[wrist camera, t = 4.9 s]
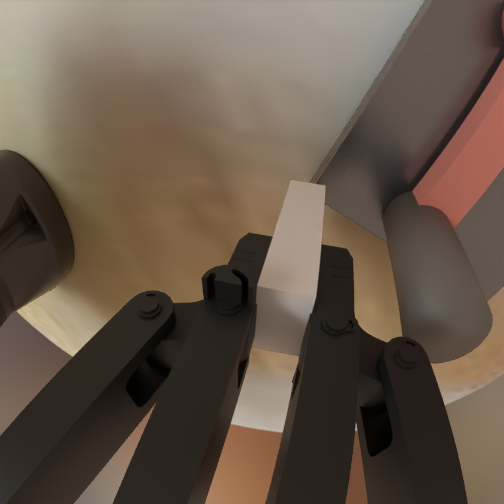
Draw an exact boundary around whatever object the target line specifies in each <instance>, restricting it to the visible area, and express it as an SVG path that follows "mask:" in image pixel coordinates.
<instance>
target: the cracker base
mask: <svg viewBox="0 0 504 504" xmlns="http://www.w3.org/2000/svg"><path fill="white" fill-rule="evenodd" d="M503 10H504V0H425V1H424V3H423V5H422V6H421V8H420V9H419V11H418V13H417V14H416V16H415V18H414V19H413V21H412V22H411V24H410V26H409V27H408V29H407V30H406V32H405V34H404V35H403V37H402V39H401V40H400V42H399V43H398V45H397V47H396V48H395V50H394V51H393V53H392V55H391V56H390V58H389V59H388V61H387V63H386V64H385V66H384V67H383V69H382V70H381V72H380V74H379V75H378V77H377V78H376V80H375V82H374V83H373V85H372V86H371V88H370V90H369V91H368V93H367V94H366V96H365V97H364V99H363V101H362V102H361V104H360V105H359V107H358V108H357V110H356V112H355V113H354V115H353V116H352V118H351V119H350V121H349V123H348V124H347V126H346V127H345V129H344V130H343V132H342V133H341V135H340V137H339V138H338V140H337V141H336V143H335V144H334V146H333V148H332V149H331V151H330V152H329V154H328V155H327V157H326V158H325V160H324V162H323V163H322V165H321V166H320V168H319V169H318V171H317V172H316V174H315V175H314V177H313V179H312V180H311V182H310V183H313V184H319V185H325V186H326V187H325V205H327V206H329V207H330V208H332V209H334V210H335V211H337V212H339V213H340V214H342V215H344V216H345V217H347V218H349V219H350V220H352V221H354V222H355V223H357V224H359V225H360V226H362V227H363V228H365V229H367V230H368V231H370V232H371V233H373V234H375V235H376V236H378V237H379V238H381V239H382V240H384V241H386V242H387V239H386V235H385V230H384V225H383V219H384V214H385V211H386V209H387V207H388V206H389V204H390V203H391V202H392V201H393V200H394V199H395V198H396V197H398V196H399V195H401V194H403V193H406V192H410V191H413V190H414V188H415V187H416V186H417V184H418V183H419V182H420V181H421V179H422V178H423V177H424V175H425V174H426V173H427V172H428V170H429V169H430V168H431V166H432V165H433V164H434V162H435V161H436V160H437V158H438V157H439V156H440V154H441V153H442V151H443V150H444V149H445V147H446V146H447V145H448V143H449V142H450V140H451V139H452V138H453V136H454V135H455V133H456V132H457V131H458V129H459V128H460V126H461V125H462V123H463V122H464V120H465V119H466V117H467V116H468V114H469V113H470V112H471V110H472V109H473V107H474V105H475V104H476V102H477V101H478V99H479V98H480V96H481V95H482V93H483V92H484V90H485V88H486V87H487V85H488V84H489V82H490V80H491V79H492V77H493V75H494V74H495V72H496V70H497V69H498V67H499V65H500V64H501V62H502V60H503V58H504V37H503V32H502V13H503ZM454 230H455V232H456V234H457V236H458V238H459V240H460V242H461V244H462V246H463V248H464V250H465V252H466V254H467V256H468V258H469V261H470V263H471V265H472V267H473V269H474V271H475V274H476V276H477V278H478V281H479V283H480V285H481V288H482V290H483V293H484V295H485V298H486V300H487V301H488V300H489V299H490V298H491V297H492V296H493V295H495V294H496V293H497V292H498V291H499V290H500V289H501V288H502V287H503V286H504V167H503V169H502V170H501V171H500V173H499V174H498V175H497V177H496V178H495V179H494V181H493V182H492V183H491V184H490V186H489V187H488V188H487V190H486V191H485V192H484V193H483V195H482V196H481V197H480V198H479V199H478V201H477V202H476V203H475V204H474V205H473V207H472V208H471V209H470V210H469V211H468V213H467V214H466V215H465V216H464V217H463V218H462V220H461V221H460V222H459V223H458V224H457V225H456V226H455V227H454Z"/></svg>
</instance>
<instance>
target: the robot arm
mask: <svg viewBox="0 0 504 504" xmlns="http://www.w3.org/2000/svg"><path fill="white" fill-rule="evenodd" d="M325 187H326V186H325V185H319V184H313V183H307V182H301V181H295V180H291V181H290V184H289V187H288V191H287V194H286V197H285V200H284V203H283V206H282V210H281V213H280V216H279V219H278V222H277V225H276V229H275V232H274V235H273V237H271V236H265V235H259V234H253V233H248V234H247V235H245V236H244V237H243V238H241V239H240V240H239V242H238V244H237V246H236V248H235V251H234V253H233V255H232V257H231V259H230V261H229V263H228V265H222V266H217V267H214V268H212V269H210V270H208V271H207V272H206V273H205V274H204V275H203V276H202V285H203V295H204V300H201V301H198V302H191V303H173V302H172V300H171V298H170V297H169V296H168V295H166V294H165V293H163V292H159V291H146V292H143V293H140V294H138V295H137V296H135V297H134V298H132V299H131V300H130V301H129V302H128V303H127V304H126V305H125V306H124V307H123V308H122V309H121V310H120V311H119V312H118V313H117V314H116V315H115V316H114V317H113V318H112V319H111V320H109V321H108V322H107V323H106V324H105V325H104V326H103V327H102V328H101V329H100V330H99V331H98V332H97V333H96V334H95V335H94V336H93V337H92V338H91V339H90V340H89V341H88V342H87V343H86V344H85V345H84V346H83V347H82V348H81V349H80V350H79V351H78V352H77V353H76V354H75V355H74V356H73V358H72V359H71V360H70V361H69V362H68V363H67V364H66V365H65V366H64V367H63V368H62V369H61V370H60V371H59V372H58V373H57V374H56V375H55V376H54V377H53V378H52V380H50V382H49V383H48V384H47V385H46V386H45V387H44V388H43V389H42V390H41V391H40V392H39V393H38V394H37V396H36V397H35V398H34V399H33V400H32V401H31V402H30V403H29V404H28V405H27V406H26V408H25V409H24V410H23V411H22V412H21V413H20V414H19V415H18V416H17V418H16V419H15V420H14V421H13V422H12V423H11V424H10V426H9V427H8V428H7V429H6V430H5V431H4V432H3V434H2V435H1V436H0V504H74V502H75V501H76V500H77V499H78V498H79V497H80V495H81V494H82V493H83V492H84V491H85V489H86V488H87V487H88V486H89V485H90V483H91V482H92V481H93V480H94V478H95V477H96V476H97V475H98V474H99V472H100V471H101V470H102V469H103V467H104V466H105V465H106V464H107V463H108V461H109V460H110V459H111V458H112V457H113V455H114V454H115V453H116V452H117V450H118V449H119V448H120V447H121V445H122V444H123V443H124V442H125V440H126V439H127V438H128V437H129V436H130V434H131V433H132V432H133V431H134V429H135V428H136V427H137V426H138V424H139V423H140V422H141V421H142V419H143V418H144V417H145V416H146V414H147V413H148V412H149V411H150V409H151V408H152V407H153V406H154V404H155V403H156V405H155V407H154V409H153V411H152V414H151V416H150V418H149V420H148V423H147V425H146V427H145V429H144V432H143V434H142V436H141V439H140V441H139V443H138V445H137V448H136V450H135V453H134V455H133V457H132V459H131V462H130V464H129V466H128V469H127V471H126V473H125V476H124V478H123V480H122V483H121V486H120V487H119V490H118V492H117V495H116V497H115V499H114V502H113V504H204V503H205V501H206V498H207V495H208V492H209V489H210V486H211V483H212V480H213V477H214V474H215V471H216V468H217V465H218V461H219V458H220V455H221V452H222V449H223V446H224V443H225V439H226V436H227V433H228V430H229V427H230V423H231V420H232V417H233V414H234V410H235V407H236V404H237V401H238V397H239V394H240V391H241V387H242V384H243V381H244V377H245V374H246V371H247V367H248V364H249V354H250V350H251V347H252V344H253V347H255V348H260V349H264V350H269V351H274V352H279V353H285V354H290V355H296V356H299V361H298V365H297V368H296V371H295V374H294V377H293V380H292V383H293V387H292V392H291V397H290V402H289V407H288V411H287V416H286V421H285V425H284V430H283V434H282V439H281V443H280V448H279V452H278V456H277V460H276V464H275V469H274V472H273V476H272V480H271V484H270V488H269V492H268V496H267V499H266V503H265V504H345V502H346V496H347V490H348V484H349V477H350V469H351V462H352V454H353V445H354V435H355V425H356V424H357V430H358V436H359V442H360V448H361V455H362V462H363V468H364V476H365V484H366V492H367V499H368V504H468V503H467V497H466V491H465V485H464V480H463V476H462V471H461V466H460V461H459V457H458V453H457V448H456V445H455V441H454V437H453V433H452V430H451V426H450V422H449V419H448V415H447V412H446V409H445V405H444V402H443V399H442V396H441V393H440V390H439V387H438V384H437V381H436V378H435V375H434V372H433V369H432V366H431V364H430V361H429V358H428V355H427V353H426V352H425V350H424V348H423V347H422V346H421V345H420V344H419V343H418V342H417V341H415V340H413V339H411V338H409V337H396V338H393V339H391V340H390V341H389V342H388V343H386V342H384V341H382V340H380V339H377V338H375V337H373V336H371V335H369V334H368V333H366V332H365V331H364V330H363V329H362V328H361V327H360V326H359V324H358V321H357V320H356V318H355V314H354V280H353V279H354V272H353V258H352V256H351V255H350V253H349V251H348V250H347V249H345V248H339V247H334V246H328V245H322V244H321V243H322V231H323V218H324V204H325ZM73 261H74V249H73V243H72V238H71V234H70V231H69V228H68V225H67V222H66V219H65V217H64V215H63V212H62V210H61V208H60V206H59V204H58V202H57V200H56V199H55V197H54V195H53V193H52V192H51V190H50V189H49V187H48V185H47V184H46V183H45V181H44V180H43V178H42V177H41V176H40V175H39V173H38V172H37V171H36V170H35V169H34V168H33V167H32V166H31V165H30V164H29V163H28V162H27V161H26V160H25V159H23V158H22V157H21V156H19V155H17V154H15V153H13V152H11V151H6V150H2V151H0V327H1V326H2V325H3V323H4V322H5V321H6V320H7V318H8V317H9V316H10V315H11V314H12V313H13V312H15V311H17V310H18V309H20V308H22V307H23V306H25V305H27V304H28V303H30V302H32V301H33V300H35V299H37V298H38V297H40V296H42V295H43V294H45V293H47V292H48V291H51V290H52V289H54V288H55V287H56V286H58V284H59V283H60V282H61V281H62V280H63V279H64V278H65V276H66V275H67V274H68V273H69V272H70V270H71V268H72V266H73Z"/></svg>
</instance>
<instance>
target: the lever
mask: <svg viewBox="0 0 504 504" xmlns="http://www.w3.org/2000/svg"><path fill="white" fill-rule="evenodd" d="M502 32H503V37H504V10H503V13H502ZM503 167H504V58H503V60H502V62H501V64H500V65H499V67H498V69H497V70H496V72H495V74H494V75H493V77H492V79H491V80H490V82H489V84H488V85H487V87H486V88H485V90H484V92H483V93H482V95H481V96H480V98H479V99H478V101H477V102H476V104H475V105H474V107H473V109H472V110H471V112H470V113H469V114H468V116H467V117H466V119H465V120H464V122H463V123H462V125H461V126H460V128H459V129H458V131H457V132H456V133H455V135H454V136H453V138H452V139H451V140H450V142H449V143H448V145H447V146H446V147H445V149H444V150H443V151H442V153H441V154H440V156H439V157H438V158H437V160H436V161H435V162H434V164H433V165H432V166H431V168H430V169H429V170H428V172H427V173H426V174H425V175H424V177H423V178H422V179H421V181H420V182H419V183H418V184H417V186H416V187H415V188H414V190H413V191H410V192H406V193H403V194H401V195H399V196H398V197H396V198H395V199H394V200H393V201H392V202H391V203H390V204H389V206H388V207H387V209H386V211H385V214H384V219H383V225H384V230H385V235H386V239H387V244H388V248H389V253H390V258H391V263H392V269H393V274H394V280H395V286H396V292H397V298H398V305H399V312H400V319H401V327H402V336H403V337H409V338H411V339H413V340H415V341H417V342H418V343H419V344H420V345H421V346H422V347H423V348H424V350H425V352H426V353H427V355H428V358H429V361H430V363H443V362H448V361H451V360H455V359H457V358H460V357H462V356H464V355H466V354H468V353H469V352H471V351H472V350H474V349H475V348H476V347H478V346H479V345H480V344H481V343H482V342H483V340H484V339H485V338H486V337H487V335H488V333H489V332H490V329H491V327H492V321H493V318H492V314H491V311H490V308H489V306H488V303H487V300H486V298H485V295H484V293H483V290H482V288H481V285H480V283H479V281H478V278H477V276H476V274H475V271H474V269H473V267H472V265H471V263H470V261H469V258H468V256H467V254H466V252H465V250H464V248H463V246H462V244H461V242H460V240H459V238H458V236H457V234H456V232H455V230H454V227H455V226H456V225H457V224H458V223H459V222H460V221H461V220H462V218H463V217H464V216H465V215H466V214H467V213H468V211H469V210H470V209H471V208H472V207H473V205H474V204H475V203H476V202H477V201H478V199H479V198H480V197H481V196H482V195H483V193H484V192H485V191H486V190H487V188H488V187H489V186H490V184H491V183H492V182H493V181H494V179H495V178H496V177H497V175H498V174H499V173H500V171H501V170H502V169H503Z"/></svg>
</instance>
